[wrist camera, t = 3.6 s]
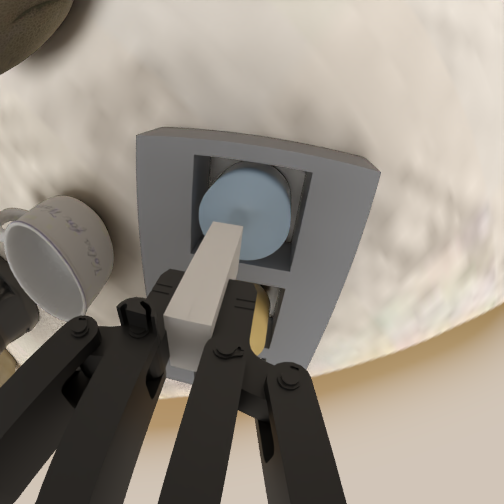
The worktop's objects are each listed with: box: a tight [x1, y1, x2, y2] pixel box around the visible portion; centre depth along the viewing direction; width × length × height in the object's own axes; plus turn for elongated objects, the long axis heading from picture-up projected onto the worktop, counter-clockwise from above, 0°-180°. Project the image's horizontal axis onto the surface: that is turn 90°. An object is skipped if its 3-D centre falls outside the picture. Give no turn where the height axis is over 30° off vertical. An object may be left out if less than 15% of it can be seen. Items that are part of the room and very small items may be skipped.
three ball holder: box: [136, 127, 381, 384], centre depth 23 cm, size 15×26×4 cm, turn 173°
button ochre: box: [238, 280, 270, 355], centre depth 21 cm, size 6×6×4 cm
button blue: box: [199, 161, 291, 260], centre depth 18 cm, size 6×6×4 cm
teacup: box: [0, 196, 114, 322], centre depth 21 cm, size 14×11×8 cm
